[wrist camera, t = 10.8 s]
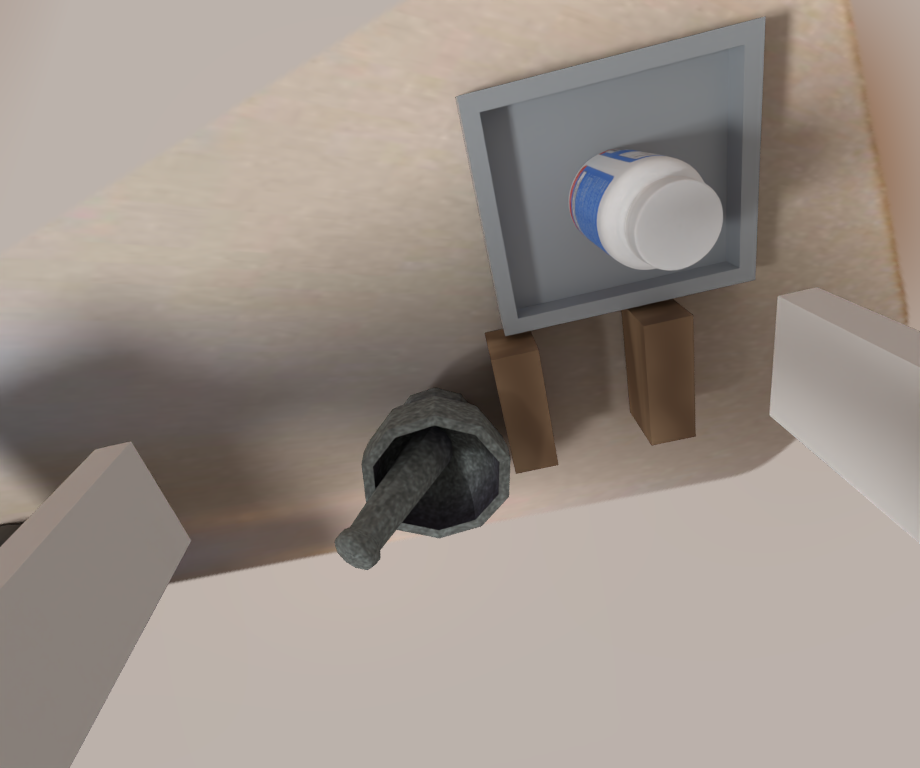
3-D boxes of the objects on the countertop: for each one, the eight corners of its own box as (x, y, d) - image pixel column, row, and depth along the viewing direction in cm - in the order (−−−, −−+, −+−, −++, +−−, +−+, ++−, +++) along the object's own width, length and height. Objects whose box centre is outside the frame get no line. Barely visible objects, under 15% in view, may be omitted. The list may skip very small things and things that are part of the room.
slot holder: (508, 437, 41) (515, 473, 37) (484, 332, 37) (490, 360, 33) (669, 403, 40) (695, 436, 36) (664, 292, 36) (693, 315, 32)
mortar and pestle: (479, 350, 37) (497, 447, 27) (515, 453, 42) (543, 571, 31) (333, 398, 39) (295, 509, 28) (383, 493, 43) (366, 620, 32)
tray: (501, 322, 36) (505, 336, 34) (455, 97, 30) (456, 96, 28) (735, 268, 35) (755, 279, 33) (740, 23, 29) (765, 16, 27)
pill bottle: (597, 258, 34) (653, 310, 25) (549, 190, 32) (592, 221, 23) (672, 201, 32) (758, 235, 24) (627, 125, 30) (704, 133, 22)
